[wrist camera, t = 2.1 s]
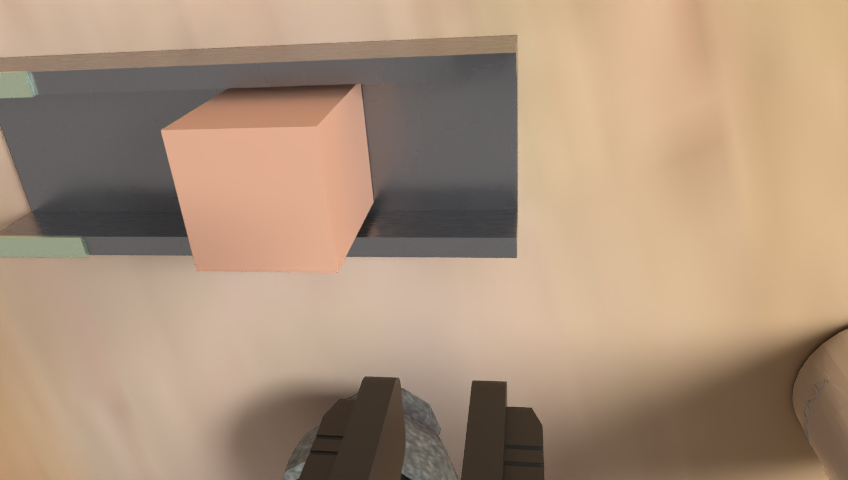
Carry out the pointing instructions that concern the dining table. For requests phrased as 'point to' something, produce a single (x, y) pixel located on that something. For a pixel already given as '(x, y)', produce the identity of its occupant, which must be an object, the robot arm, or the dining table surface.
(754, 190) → the dining table surface
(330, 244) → the terracotta block
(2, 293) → the dining table surface
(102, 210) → the chute
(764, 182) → the dining table surface
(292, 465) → the mortar and pestle
